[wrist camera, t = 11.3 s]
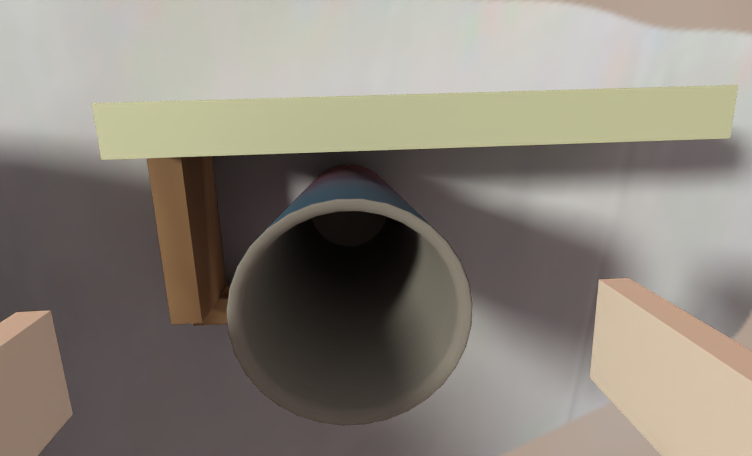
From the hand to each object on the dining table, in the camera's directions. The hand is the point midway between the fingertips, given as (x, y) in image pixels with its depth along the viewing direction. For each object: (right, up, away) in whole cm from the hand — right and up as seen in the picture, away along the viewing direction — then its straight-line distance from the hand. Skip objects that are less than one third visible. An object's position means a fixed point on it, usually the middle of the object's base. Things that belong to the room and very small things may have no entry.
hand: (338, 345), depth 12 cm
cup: (-1, +4, +16) cm, 17 cm away
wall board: (+2, +9, +15) cm, 18 cm away
